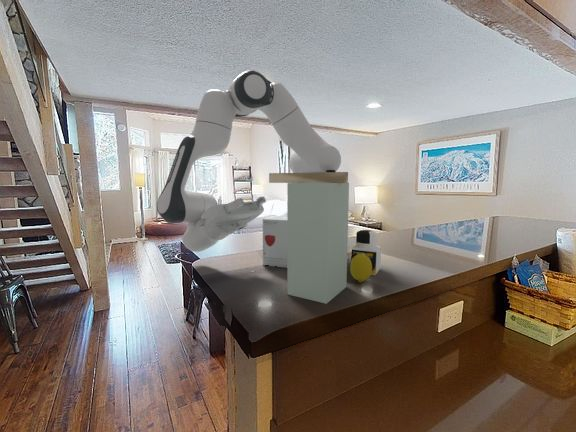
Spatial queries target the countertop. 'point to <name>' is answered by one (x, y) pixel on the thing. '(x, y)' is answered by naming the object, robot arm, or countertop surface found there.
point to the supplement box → (275, 241)
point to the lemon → (361, 267)
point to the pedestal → (317, 240)
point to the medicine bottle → (368, 248)
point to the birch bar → (309, 177)
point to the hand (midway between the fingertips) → (253, 199)
